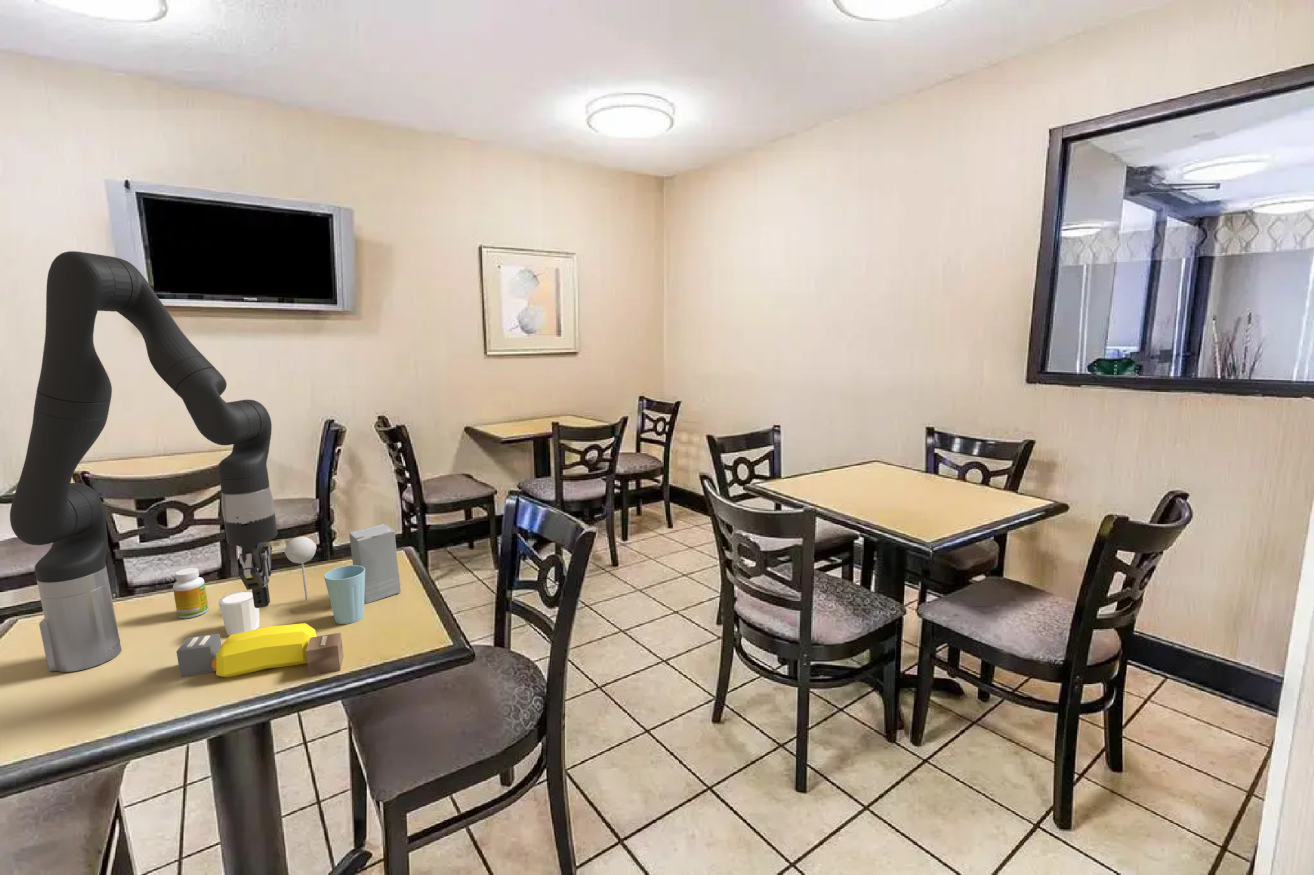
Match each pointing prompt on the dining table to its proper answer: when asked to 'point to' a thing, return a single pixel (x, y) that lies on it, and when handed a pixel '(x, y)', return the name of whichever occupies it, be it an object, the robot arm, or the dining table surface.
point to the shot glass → (239, 612)
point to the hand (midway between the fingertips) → (262, 605)
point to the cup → (346, 593)
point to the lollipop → (301, 554)
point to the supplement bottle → (190, 593)
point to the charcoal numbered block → (198, 654)
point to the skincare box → (376, 561)
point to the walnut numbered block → (324, 654)
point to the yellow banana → (263, 649)
